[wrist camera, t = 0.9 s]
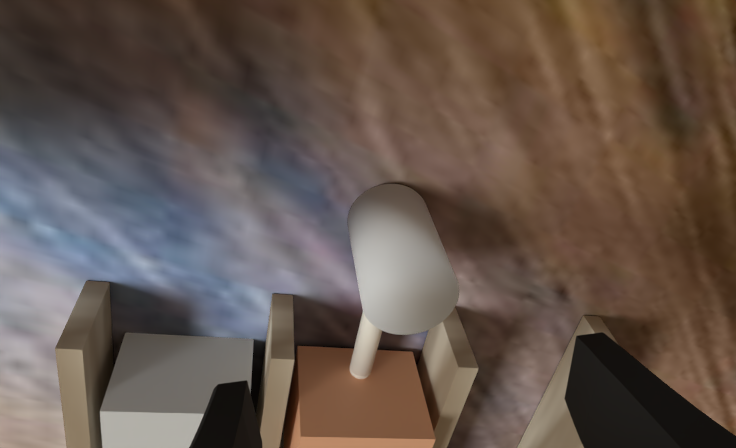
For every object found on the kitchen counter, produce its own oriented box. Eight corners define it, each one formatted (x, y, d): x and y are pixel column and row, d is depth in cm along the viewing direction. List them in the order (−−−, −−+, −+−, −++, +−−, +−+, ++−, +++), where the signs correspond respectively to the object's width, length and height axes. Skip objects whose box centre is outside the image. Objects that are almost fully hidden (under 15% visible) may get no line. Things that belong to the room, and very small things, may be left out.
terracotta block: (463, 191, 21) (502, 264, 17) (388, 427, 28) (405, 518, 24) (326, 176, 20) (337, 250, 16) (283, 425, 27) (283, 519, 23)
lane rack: (599, 316, 26) (661, 406, 21) (519, 471, 31) (556, 566, 27) (86, 280, 21) (38, 384, 17) (100, 467, 27) (66, 580, 23)
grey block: (253, 336, 24) (249, 414, 21) (244, 417, 27) (239, 498, 23) (126, 330, 23) (99, 411, 20) (129, 415, 26) (106, 499, 22)
